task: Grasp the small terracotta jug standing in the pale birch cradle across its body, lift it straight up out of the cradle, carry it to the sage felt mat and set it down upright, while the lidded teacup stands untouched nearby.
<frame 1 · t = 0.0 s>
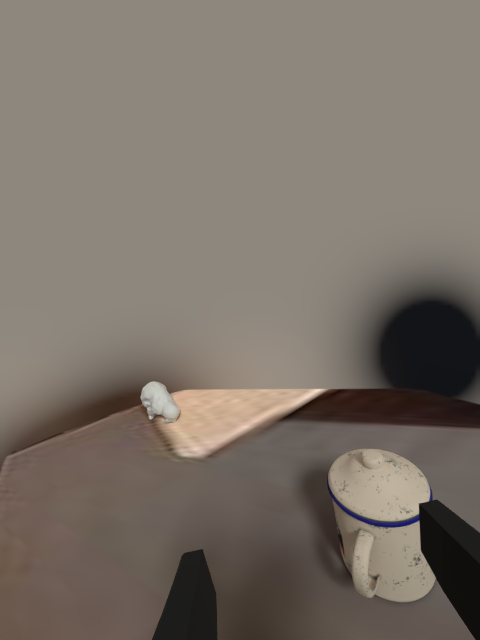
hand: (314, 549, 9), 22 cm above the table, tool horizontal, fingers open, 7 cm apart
teacup with lid: (382, 570, 28), on the table
white lumpy piece: (166, 418, 69), on the table
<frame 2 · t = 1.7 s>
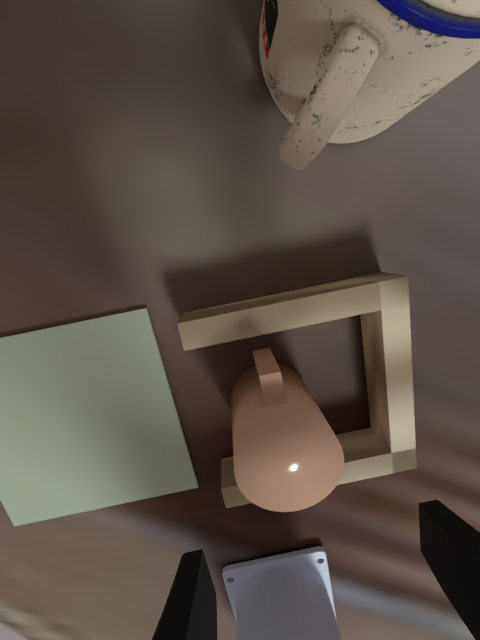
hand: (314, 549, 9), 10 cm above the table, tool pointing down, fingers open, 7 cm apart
birch cradle: (269, 399, 18), on the table
terracotta jug: (274, 414, 15), in the birch cradle
teacup with lid: (327, 81, 14), on the table
felt mat: (75, 425, 18), on the table
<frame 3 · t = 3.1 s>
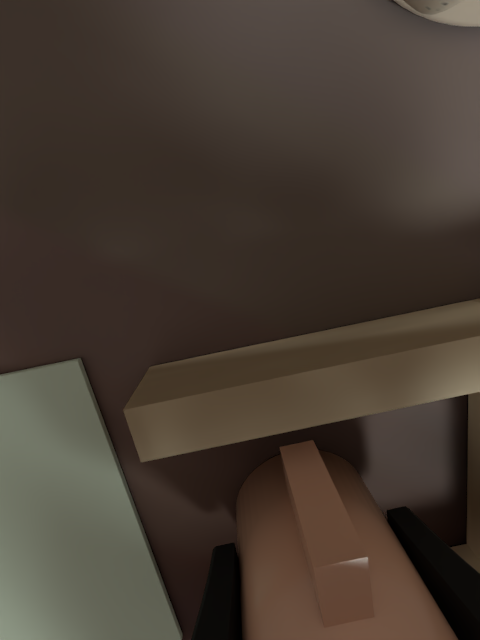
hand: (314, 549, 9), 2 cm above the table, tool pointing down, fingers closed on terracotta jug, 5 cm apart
birch cradle: (301, 505, 11), on the table
terracotta jug: (326, 579, 8), in the birch cradle, touching gripper
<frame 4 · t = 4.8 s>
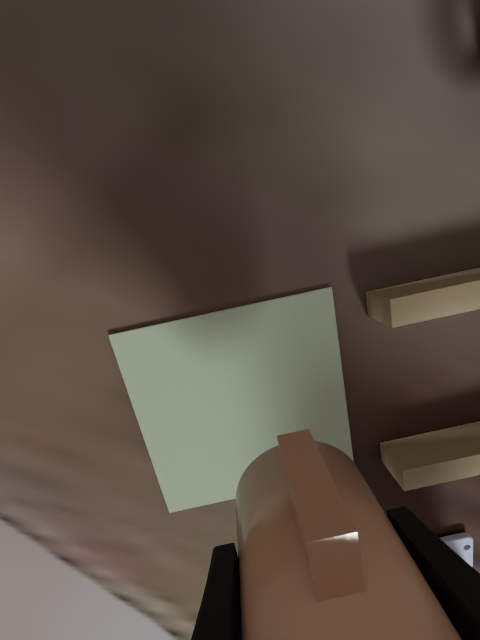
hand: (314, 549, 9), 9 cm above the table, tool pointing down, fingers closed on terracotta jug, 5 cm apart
birch cradle: (436, 380, 18), on the table
terracotta jug: (322, 563, 8), point 10 cm above the table, touching gripper
felt mat: (242, 408, 18), on the table
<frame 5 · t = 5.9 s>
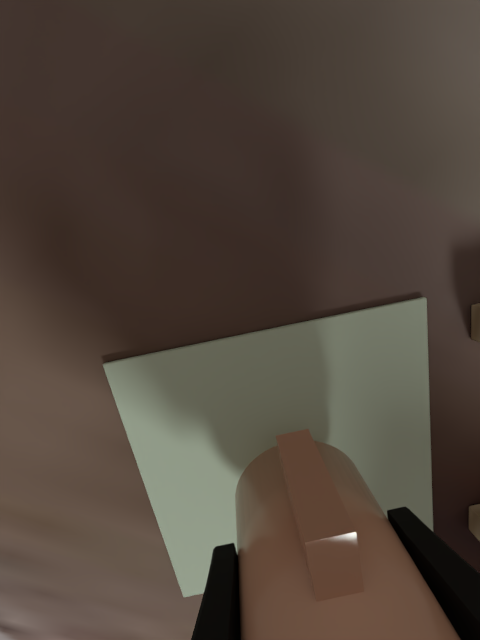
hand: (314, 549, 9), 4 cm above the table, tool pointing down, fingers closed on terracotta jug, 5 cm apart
terracotta jug: (321, 563, 8), point 5 cm above the table, touching gripper
felt mat: (288, 463, 13), on the table
when the fingers open (3 cm above the table, at t = 6.6 s): terracotta jug stays where it is, resting on felt mat.
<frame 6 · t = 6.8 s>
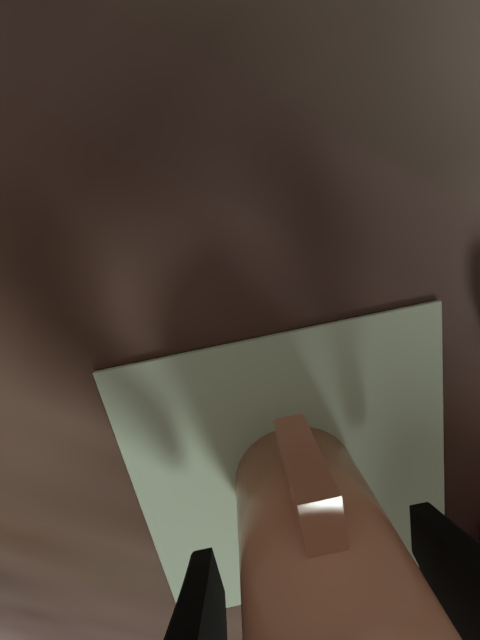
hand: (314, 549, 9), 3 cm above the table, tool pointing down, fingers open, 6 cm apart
terracotta jug: (314, 533, 9), resting on felt mat
felt mat: (292, 476, 12), on the table
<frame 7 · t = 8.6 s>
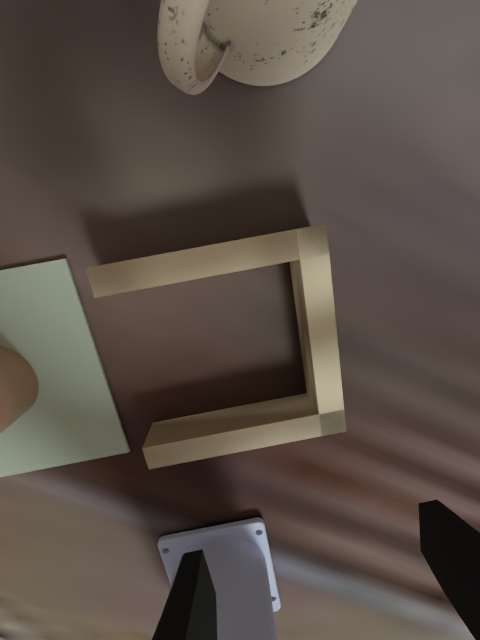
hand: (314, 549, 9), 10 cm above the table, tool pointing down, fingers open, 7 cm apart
birch cradle: (199, 359, 18), on the table
teacup with lid: (246, 20, 14), on the table
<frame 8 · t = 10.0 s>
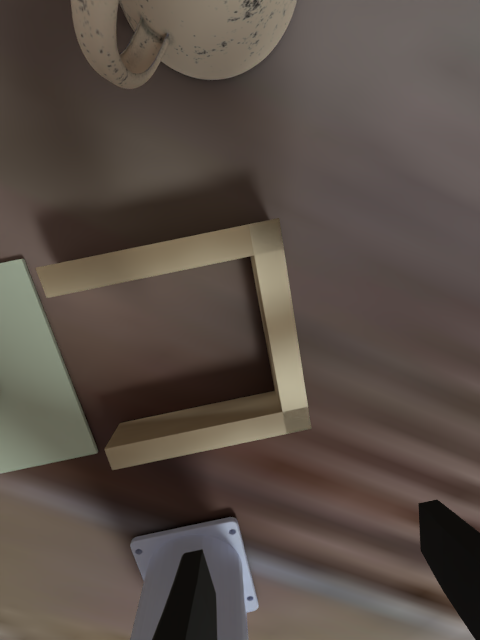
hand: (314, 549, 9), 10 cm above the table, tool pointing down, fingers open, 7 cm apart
birch cradle: (164, 359, 18), on the table
teacup with lid: (194, 12, 14), on the table
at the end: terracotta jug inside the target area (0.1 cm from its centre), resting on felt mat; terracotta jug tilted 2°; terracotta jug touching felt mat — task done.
